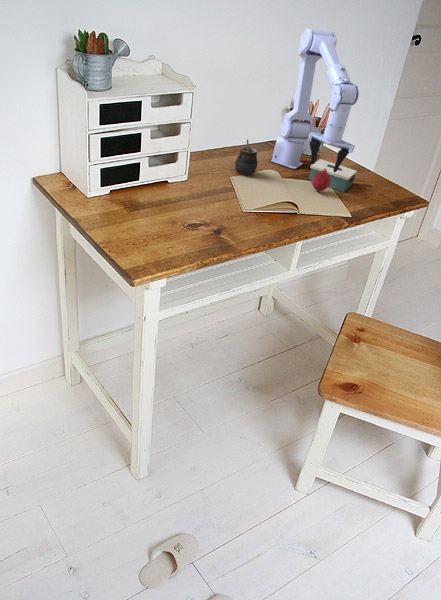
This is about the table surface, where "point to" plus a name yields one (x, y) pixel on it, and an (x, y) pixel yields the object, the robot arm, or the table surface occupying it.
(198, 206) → the table surface
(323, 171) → the onion
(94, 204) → the table surface
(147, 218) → the table surface
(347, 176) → the lunchbox
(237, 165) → the mate gourd
